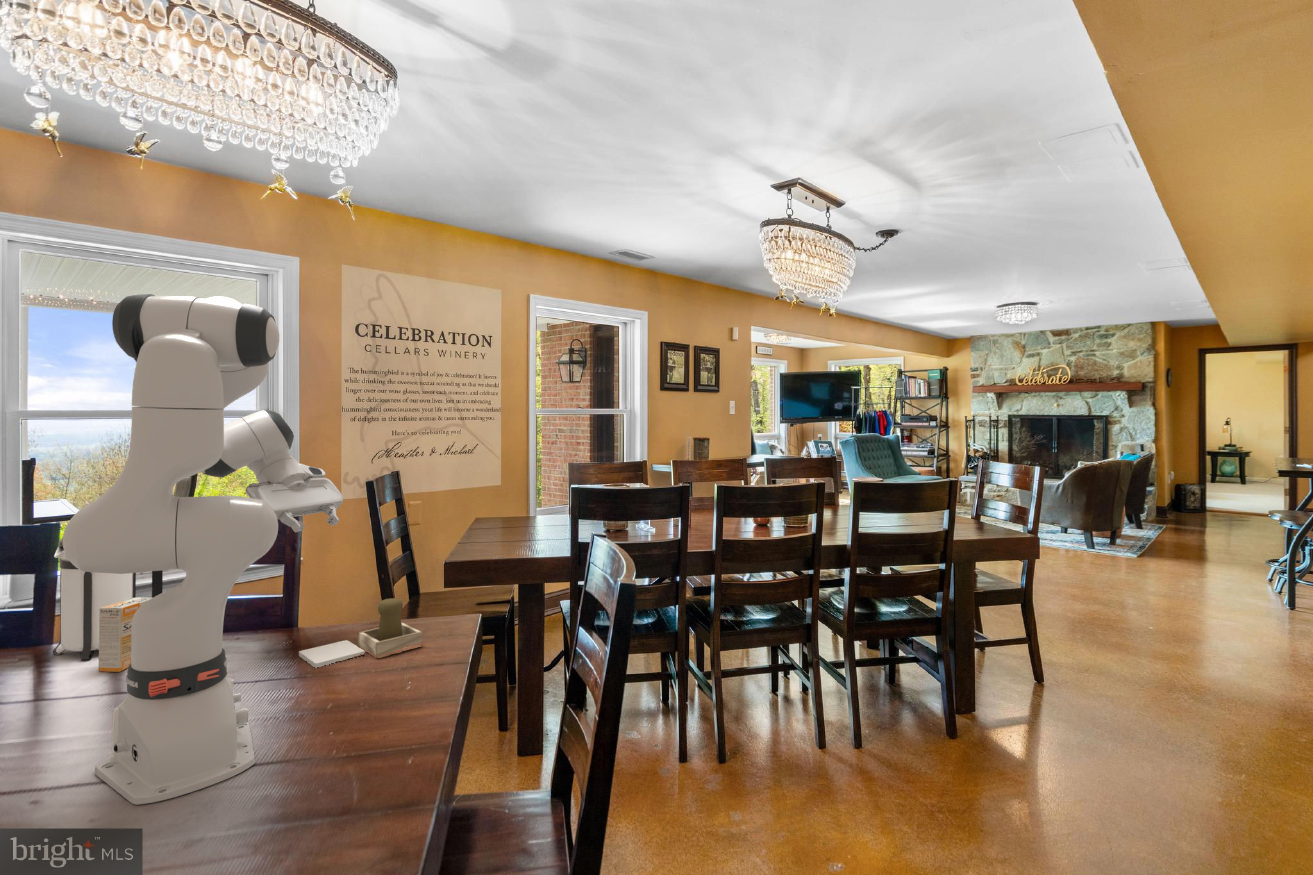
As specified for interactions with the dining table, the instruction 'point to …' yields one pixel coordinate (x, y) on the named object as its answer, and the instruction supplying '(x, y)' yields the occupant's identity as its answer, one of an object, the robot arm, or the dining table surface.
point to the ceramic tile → (330, 653)
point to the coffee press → (91, 602)
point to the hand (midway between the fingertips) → (318, 526)
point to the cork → (390, 619)
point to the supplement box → (117, 634)
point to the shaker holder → (388, 640)
